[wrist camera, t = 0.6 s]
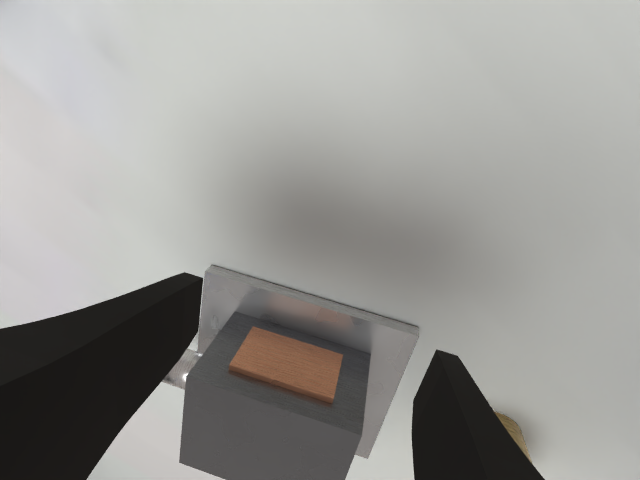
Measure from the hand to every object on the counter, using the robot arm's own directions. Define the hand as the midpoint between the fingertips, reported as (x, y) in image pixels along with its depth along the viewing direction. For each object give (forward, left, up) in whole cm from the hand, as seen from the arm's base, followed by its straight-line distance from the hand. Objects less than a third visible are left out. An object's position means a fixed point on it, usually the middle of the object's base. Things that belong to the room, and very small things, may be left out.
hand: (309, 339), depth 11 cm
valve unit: (+1, +9, -8) cm, 12 cm away
